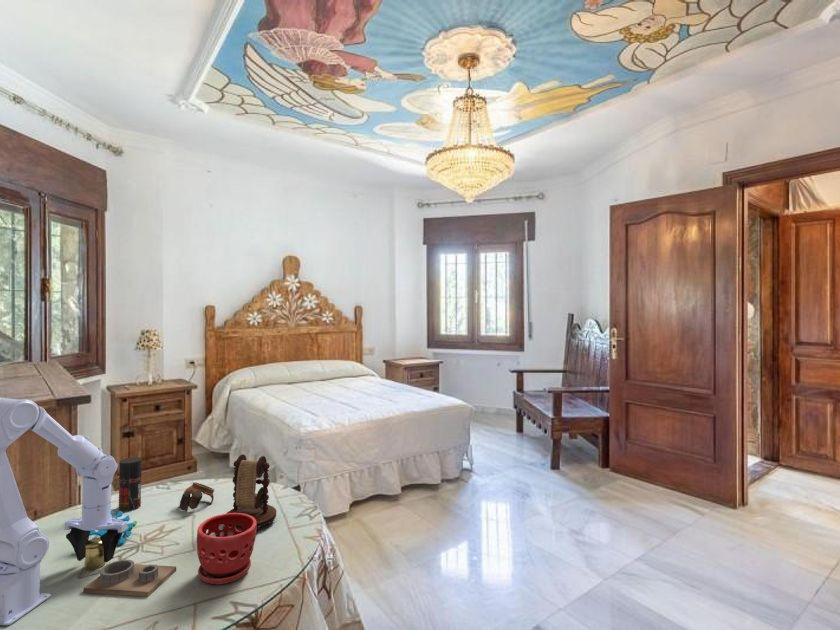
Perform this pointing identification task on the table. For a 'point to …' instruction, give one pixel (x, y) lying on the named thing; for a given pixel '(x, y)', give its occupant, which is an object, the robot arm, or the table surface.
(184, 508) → the brown leather bracelet
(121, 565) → the manifold board
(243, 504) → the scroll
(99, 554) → the brass nipple
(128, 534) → the gear
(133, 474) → the deodorant
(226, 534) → the plant pot
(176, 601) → the table surface
